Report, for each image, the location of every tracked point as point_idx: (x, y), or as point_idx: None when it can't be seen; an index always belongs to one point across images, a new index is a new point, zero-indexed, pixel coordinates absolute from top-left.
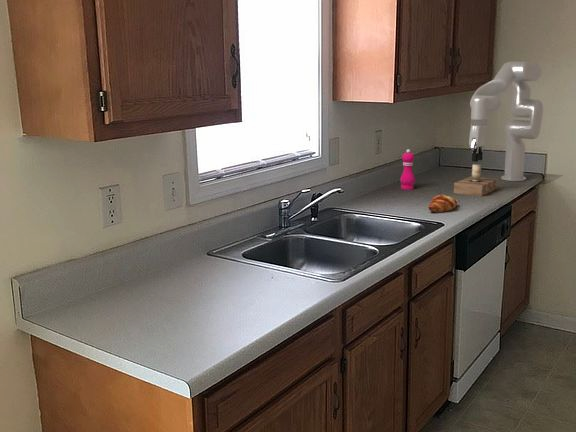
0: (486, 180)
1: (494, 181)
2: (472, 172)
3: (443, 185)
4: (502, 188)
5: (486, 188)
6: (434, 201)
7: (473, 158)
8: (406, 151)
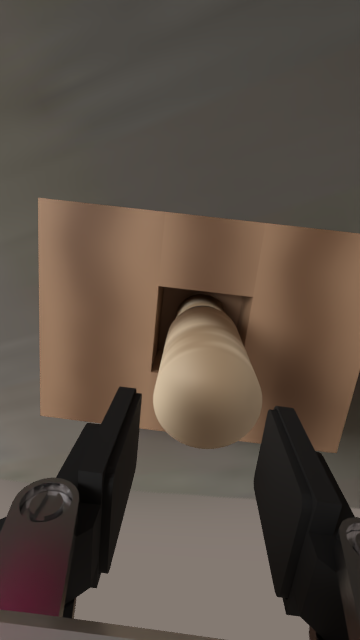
0: None
1: None
2: (174, 334)
3: (327, 13)
4: (348, 435)
5: None
6: None
7: (83, 439)
8: None
